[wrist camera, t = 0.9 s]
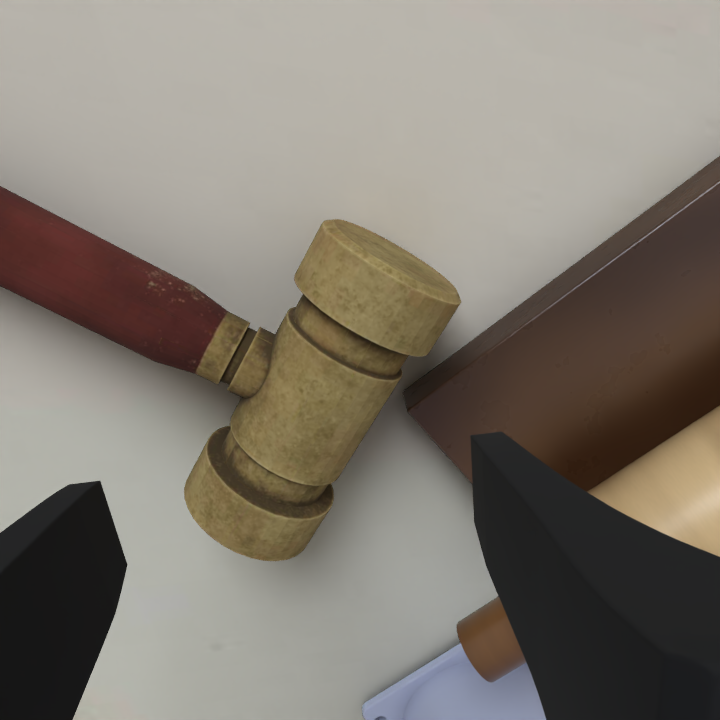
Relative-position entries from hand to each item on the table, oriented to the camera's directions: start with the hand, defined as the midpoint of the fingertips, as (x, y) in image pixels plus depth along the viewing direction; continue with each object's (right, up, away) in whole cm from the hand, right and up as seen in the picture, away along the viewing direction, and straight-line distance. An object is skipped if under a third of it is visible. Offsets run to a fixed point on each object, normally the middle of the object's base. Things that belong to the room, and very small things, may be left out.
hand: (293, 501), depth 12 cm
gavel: (-7, +6, +8) cm, 12 cm away
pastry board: (+12, +2, +11) cm, 16 cm away
